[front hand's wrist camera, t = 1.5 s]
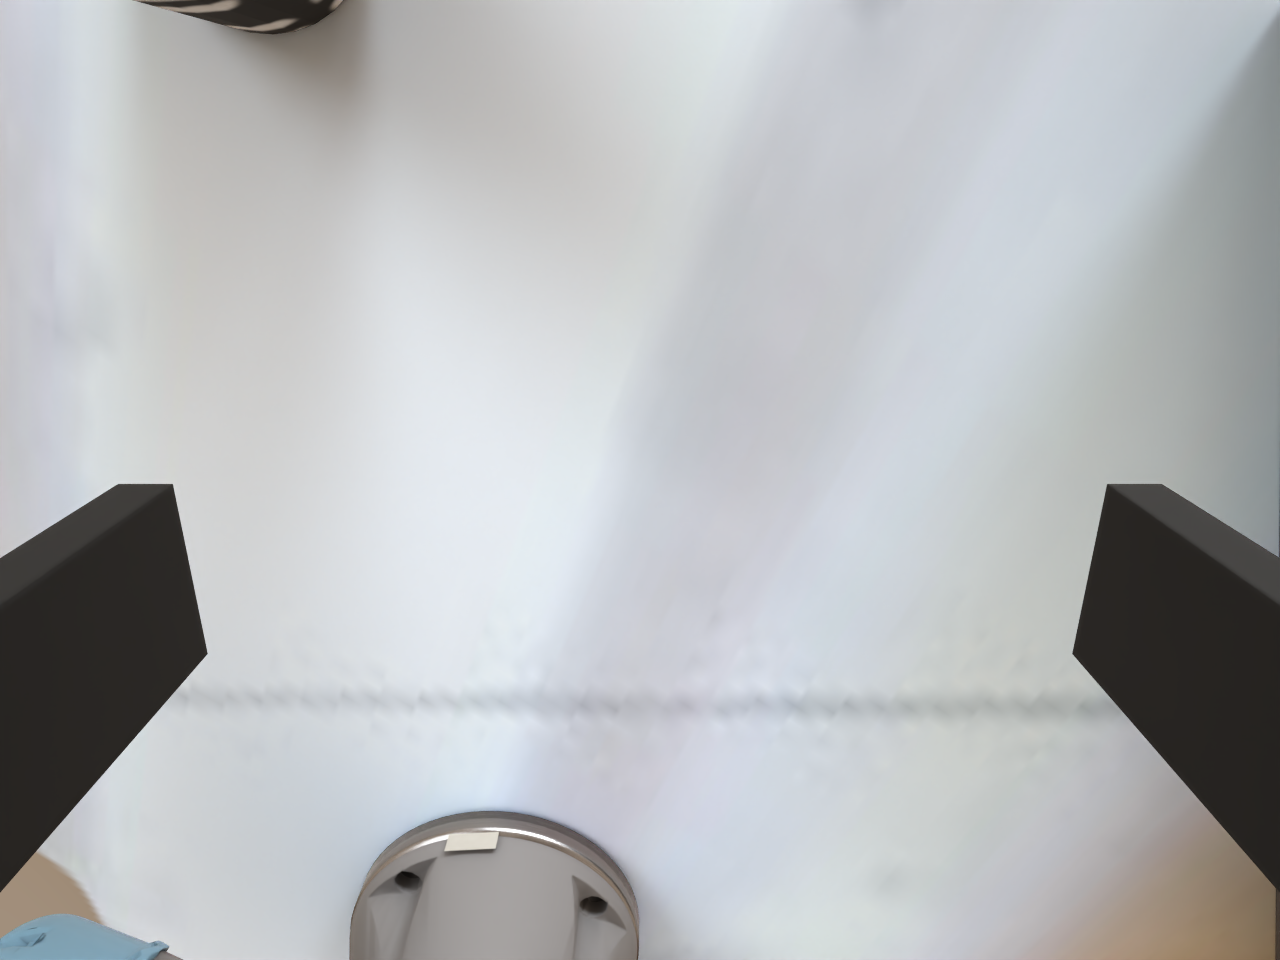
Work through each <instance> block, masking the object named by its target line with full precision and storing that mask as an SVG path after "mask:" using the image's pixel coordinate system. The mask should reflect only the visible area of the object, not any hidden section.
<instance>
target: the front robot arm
mask: <svg viewBox="0 0 1280 960" xmlns="http://www.w3.org/2000/svg"><path fill="white" fill-rule="evenodd" d="M206 655H207V649H206V644H205V639H204V634H203V629H202V624H201V619H200V615H199V610H198V605H197V600H196V595H195V590H194V585H193V580H192V576H191V571H190V566H189V561H188V556H187V551H186V546H185V542H184V537H183V532H182V527H181V522H180V517H179V512H178V507H177V503H176V498H175V493H174V488H173V484H118V485H116V486H114V487H113V488H111V489H110V490H108V491H106V492H105V493H103V494H102V495H100V496H99V497H97V498H95V499H94V500H92V501H91V502H89V503H87V504H86V505H84V506H83V507H81V508H79V509H78V510H76V511H75V512H73V513H71V514H70V515H68V516H67V517H65V518H64V519H62V520H60V521H59V522H57V523H56V524H54V525H52V526H51V527H49V528H48V529H46V530H44V531H43V532H41V533H40V534H38V535H36V536H35V537H33V538H32V539H30V540H28V541H27V542H25V543H24V544H22V545H21V546H19V547H17V548H16V549H14V550H13V551H11V552H9V553H8V554H6V555H5V556H3V557H1V558H0V892H1V891H2V890H3V889H4V887H5V886H6V885H7V884H8V883H9V882H10V881H11V879H12V878H13V877H14V876H15V875H16V874H17V873H18V871H19V870H20V869H21V868H22V867H23V866H24V864H25V863H26V862H27V861H28V860H29V859H30V858H31V856H32V855H33V854H34V853H35V852H36V851H37V850H38V848H39V847H40V846H41V845H42V844H43V843H44V841H45V840H46V839H47V838H48V837H49V836H50V835H51V833H52V832H53V831H54V830H55V829H56V828H57V827H58V825H59V824H60V823H61V822H62V821H63V820H64V818H65V817H66V816H67V815H68V814H69V813H70V812H71V810H72V809H73V808H74V807H75V806H76V805H77V803H78V802H79V801H80V800H81V799H82V798H83V797H84V795H85V794H86V793H87V792H88V791H89V790H90V789H91V787H92V786H93V785H94V784H95V783H96V782H97V780H98V779H99V778H100V777H101V776H102V775H103V774H104V772H105V771H106V770H107V769H108V768H109V767H110V766H111V764H112V763H113V762H114V761H115V760H116V759H117V757H118V756H119V755H120V754H121V753H122V752H123V751H124V749H125V748H126V747H127V746H128V745H129V744H130V743H131V741H132V740H133V739H134V738H135V737H136V736H137V734H138V733H139V732H140V731H141V730H142V729H143V728H144V726H145V725H146V724H147V723H148V722H149V721H150V719H151V718H152V717H153V716H154V715H155V714H156V713H157V711H158V710H159V709H160V708H161V707H162V706H163V705H164V703H165V702H166V701H167V700H168V699H169V698H170V696H171V695H172V694H173V693H174V692H175V691H176V690H177V688H178V687H179V686H180V685H181V684H182V683H183V682H184V680H185V679H186V678H187V677H188V676H189V675H190V673H191V672H192V671H193V670H194V669H195V668H196V667H197V665H198V664H199V663H200V662H201V661H202V660H203V659H204V657H205V656H206ZM1073 655H1074V656H1075V657H1076V659H1077V660H1078V661H1079V662H1080V663H1081V664H1082V665H1083V667H1084V668H1085V669H1086V670H1087V671H1088V672H1089V673H1090V675H1091V676H1092V677H1093V678H1094V679H1095V680H1096V682H1097V683H1098V684H1099V685H1100V686H1101V687H1102V688H1103V690H1104V691H1105V692H1106V693H1107V694H1108V695H1109V696H1110V698H1111V699H1112V700H1113V701H1114V702H1115V703H1116V705H1117V706H1118V707H1119V708H1120V709H1121V710H1122V711H1123V713H1124V714H1125V715H1126V716H1127V717H1128V718H1129V719H1130V721H1131V722H1132V723H1133V724H1134V725H1135V726H1136V728H1137V729H1138V730H1139V731H1140V732H1141V733H1142V734H1143V736H1144V737H1145V738H1146V739H1147V740H1148V741H1149V743H1150V744H1151V745H1152V746H1153V747H1154V748H1155V749H1156V751H1157V752H1158V753H1159V754H1160V755H1161V756H1162V757H1163V759H1164V760H1165V761H1166V762H1167V763H1168V764H1169V766H1170V767H1171V768H1172V769H1173V770H1174V771H1175V772H1176V774H1177V775H1178V776H1179V777H1180V778H1181V779H1182V780H1183V782H1184V783H1185V784H1186V785H1187V786H1188V787H1189V789H1190V790H1191V791H1192V792H1193V793H1194V794H1195V795H1196V797H1197V798H1198V799H1199V800H1200V801H1201V802H1202V803H1203V805H1204V806H1205V807H1206V808H1207V809H1208V810H1209V812H1210V813H1211V814H1212V815H1213V816H1214V817H1215V818H1216V820H1217V821H1218V822H1219V823H1220V824H1221V825H1222V827H1223V828H1224V829H1225V830H1226V831H1227V832H1228V833H1229V835H1230V836H1231V837H1232V838H1233V839H1234V840H1235V841H1236V843H1237V844H1238V845H1239V846H1240V847H1241V848H1242V850H1243V851H1244V852H1245V853H1246V854H1247V855H1248V856H1249V858H1250V859H1251V860H1252V861H1253V862H1254V863H1255V864H1256V866H1257V867H1258V868H1259V869H1260V870H1261V871H1262V873H1263V874H1264V875H1265V876H1266V877H1267V878H1268V879H1269V881H1270V882H1271V883H1272V884H1273V885H1274V886H1275V887H1276V889H1277V890H1278V891H1279V892H1280V558H1279V557H1277V556H1275V555H1274V554H1272V553H1271V552H1269V551H1267V550H1266V549H1264V548H1263V547H1261V546H1259V545H1258V544H1256V543H1255V542H1253V541H1252V540H1250V539H1248V538H1247V537H1245V536H1244V535H1242V534H1240V533H1239V532H1237V531H1236V530H1234V529H1232V528H1231V527H1229V526H1228V525H1226V524H1224V523H1223V522H1221V521H1220V520H1218V519H1216V518H1215V517H1213V516H1212V515H1210V514H1209V513H1207V512H1205V511H1204V510H1202V509H1201V508H1199V507H1197V506H1196V505H1194V504H1193V503H1191V502H1189V501H1188V500H1186V499H1185V498H1183V497H1181V496H1180V495H1178V494H1177V493H1175V492H1174V491H1172V490H1170V489H1169V488H1167V487H1166V486H1164V485H1162V484H1107V488H1106V493H1105V498H1104V503H1103V507H1102V512H1101V517H1100V522H1099V527H1098V532H1097V537H1096V542H1095V546H1094V551H1093V556H1092V561H1091V566H1090V571H1089V576H1088V580H1087V585H1086V590H1085V595H1084V600H1083V605H1082V610H1081V615H1080V619H1079V624H1078V629H1077V634H1076V639H1075V644H1074V649H1073ZM168 948H169V946H168V945H166V944H165V943H163V942H161V941H156V942H152V943H147V942H144V941H142V940H139V939H137V938H134V937H132V936H129V935H127V934H124V933H121V932H119V931H116V930H114V929H111V928H109V927H106V926H104V925H101V924H98V923H96V922H93V921H91V920H88V919H85V918H83V917H80V916H76V915H71V914H53V915H48V916H44V917H40V918H37V919H34V920H32V921H29V922H27V923H25V924H23V925H21V926H19V927H17V928H15V929H14V930H12V931H11V932H9V933H8V934H6V935H5V936H3V937H2V938H0V960H183V959H180V958H178V957H176V956H174V955H172V954H170V953H168V952H166V951H167V950H168ZM638 952H639V914H638V907H637V903H636V899H635V896H634V894H633V891H632V888H631V886H630V884H629V883H628V881H627V879H626V877H625V876H624V874H623V873H622V871H621V870H620V868H619V867H618V866H617V865H616V864H615V863H614V861H613V860H612V859H611V858H610V857H609V856H608V855H607V854H606V853H605V852H604V851H602V850H601V849H600V848H599V847H597V846H596V845H595V844H594V843H592V842H591V841H589V840H588V839H586V838H585V837H583V836H581V835H580V834H578V833H576V832H574V831H572V830H570V829H568V828H566V827H564V826H561V825H559V824H557V823H554V822H551V821H548V820H545V819H542V818H538V817H534V816H530V815H524V814H519V813H511V812H501V811H480V812H468V813H461V814H455V815H450V816H446V817H442V818H439V819H436V820H433V821H430V822H427V823H425V824H423V825H420V826H418V827H416V828H414V829H412V830H410V831H409V832H407V833H405V834H404V835H402V836H401V837H399V838H398V839H397V840H395V841H394V842H393V843H392V844H391V845H389V846H388V847H387V848H386V849H385V850H384V851H383V852H382V853H381V854H380V856H379V857H378V858H377V860H376V861H375V862H374V864H373V865H372V867H371V869H370V870H369V872H368V874H367V877H366V879H365V881H364V884H363V886H362V889H361V892H360V894H359V897H358V899H357V902H356V905H355V907H354V911H353V915H352V919H351V927H350V957H349V960H638Z"/></svg>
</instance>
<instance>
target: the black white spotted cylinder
mask: <svg viewBox="0 0 1280 960" xmlns="http://www.w3.org/2000/svg"><path fill="white" fill-rule="evenodd" d="M134 1H138V2H141V3H145V4H149V5H152V6H156V7H160V8H163V9H167V10H171V11H174V12H178V13H182V14H185V15H189V16H193V17H196V18H200V19H204V20H207V21H211V22H215V23H218V24H222V25H226V26H229V27H233V28H237V29H240V30H244V31H248V32H252V33H264V34H279V33H286V32H293V31H297V30H300V29H302V28H305V27H307V26H310V25H313V24H315V23H317V22H318V21H320V20H321V19H323V18H324V17H325V16H327V15H328V14H330V13H331V12H333V11H334V10H335V9H336V8H337V7H338V6H339V4H340V3H341V2H342V1H343V0H134Z"/></svg>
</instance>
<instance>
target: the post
mask: <svg viewBox="0 0 1280 960" xmlns="http://www.w3.org/2000/svg"><path fill="white" fill-rule="evenodd" d="M1279 558H1280V543H1279ZM1276 960H1280V892H1279V891H1278V890H1277V889H1276Z"/></svg>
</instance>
